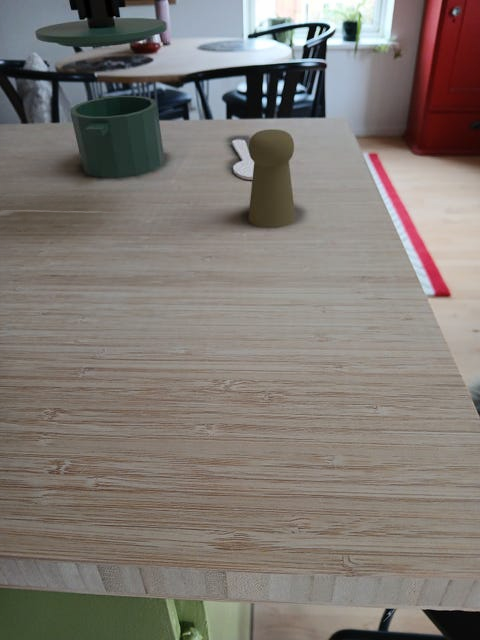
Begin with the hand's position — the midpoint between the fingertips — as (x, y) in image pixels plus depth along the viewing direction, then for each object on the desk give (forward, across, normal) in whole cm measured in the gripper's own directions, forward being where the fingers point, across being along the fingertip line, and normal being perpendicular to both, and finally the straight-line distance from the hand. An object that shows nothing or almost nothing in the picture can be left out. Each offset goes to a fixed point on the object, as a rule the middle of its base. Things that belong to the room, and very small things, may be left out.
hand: (99, 15), depth 54 cm
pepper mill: (+23, -17, +7) cm, 29 cm away
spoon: (+23, -18, -16) cm, 34 cm away
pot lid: (+2, 0, 0) cm, 2 cm away
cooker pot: (+23, +1, -19) cm, 30 cm away
